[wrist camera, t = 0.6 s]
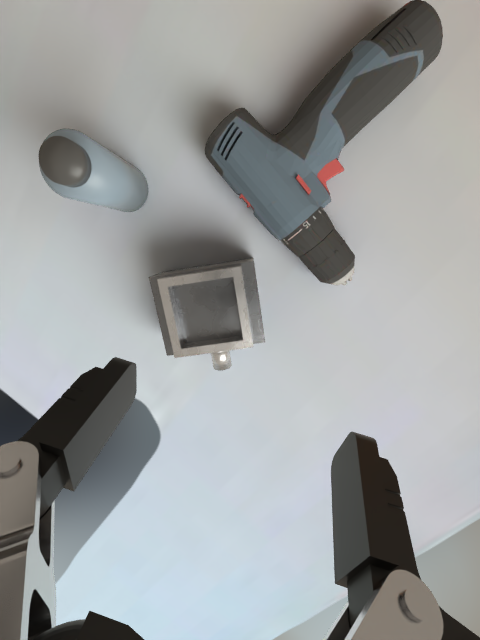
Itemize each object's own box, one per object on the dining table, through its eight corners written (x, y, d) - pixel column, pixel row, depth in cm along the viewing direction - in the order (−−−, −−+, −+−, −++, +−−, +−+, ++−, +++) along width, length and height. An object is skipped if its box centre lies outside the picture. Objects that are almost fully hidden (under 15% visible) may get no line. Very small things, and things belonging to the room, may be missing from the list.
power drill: (479, 164, 30) (319, 295, 34) (368, -7, 27) (206, 160, 31) (527, 148, 25) (332, 305, 29) (396, -65, 22) (197, 144, 26)
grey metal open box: (163, 271, 33) (143, 279, 27) (253, 257, 33) (253, 262, 26) (183, 363, 36) (169, 389, 30) (266, 352, 35) (270, 376, 29)
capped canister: (99, 168, 31) (17, 129, 20) (142, 160, 30) (83, 116, 20) (110, 215, 32) (39, 202, 21) (152, 208, 32) (102, 190, 21)
